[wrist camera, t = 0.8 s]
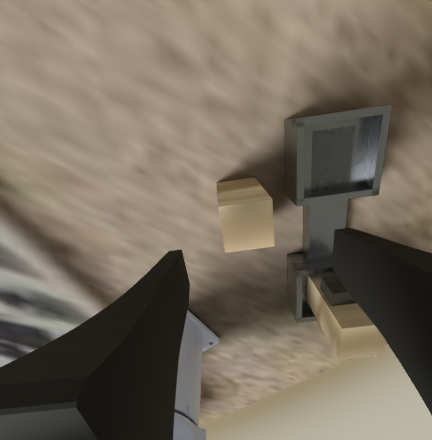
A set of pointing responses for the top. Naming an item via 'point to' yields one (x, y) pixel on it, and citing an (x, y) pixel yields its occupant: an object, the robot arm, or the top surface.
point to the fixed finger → (342, 318)
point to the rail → (329, 184)
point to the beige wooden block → (245, 215)
